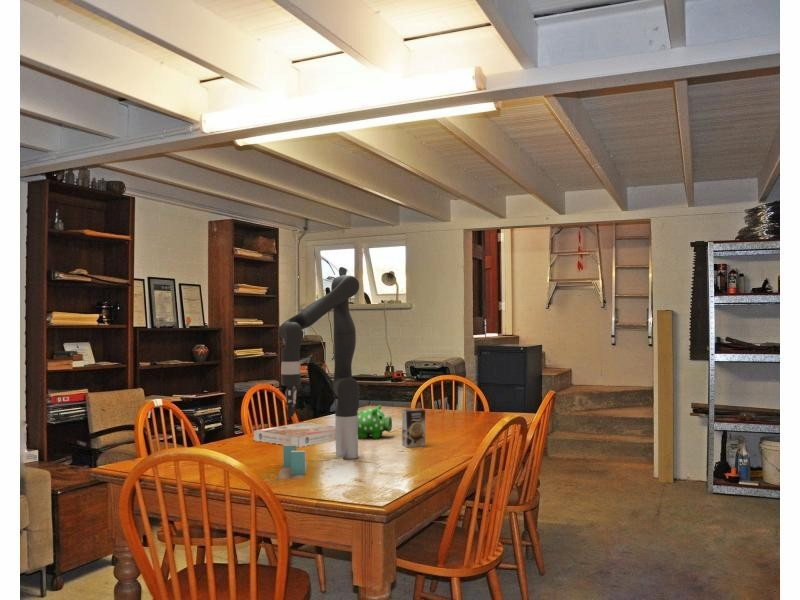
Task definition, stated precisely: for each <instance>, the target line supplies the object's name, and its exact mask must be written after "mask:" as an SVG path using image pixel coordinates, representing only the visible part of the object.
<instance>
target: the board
mask: <svg viewBox="0 0 800 600" xmlns="http://www.w3.org/2000/svg"><path fill="white" fill-rule="evenodd" d="M305 462H306V470H307V469H308V466H309V463H310V462H309V461H305ZM305 476H306V473H305V474H291V467H283V465H282V467H281V469H280V471H279V473H278V475H277V477H276V480H288V479H289V480H294V479H297V480H299V479H305Z"/></svg>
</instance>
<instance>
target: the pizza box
mask: <svg viewBox="0 0 800 600" xmlns="http://www.w3.org/2000/svg"><path fill="white" fill-rule="evenodd" d="M254 440H255V441H254ZM253 441H254V442H259V441H262V442H261V443H265V442H269V443H268V444H272V443H276V444H275V445H278V444H283V445H282V446H284V445H293V444H297V447H300V448H303V447H302V446H305V447H308V446H307V445H310V446H313V445H312V444H315V445H320V444H324V442H325V443H328V442H333V441H334V442H336V427H335V425H328V424H320V423H310V422H298V423H291V424H286V425H279V426H274V427H269V428H267V427H266V428H263V429H262V428H261V429H256V430H253ZM319 443H320V444H319Z"/></svg>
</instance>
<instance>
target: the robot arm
mask: <svg viewBox="0 0 800 600" xmlns="http://www.w3.org/2000/svg"><path fill="white" fill-rule="evenodd" d="M330 288H331V289H330V290H331V291H330V292H328V293H327V294H325V295H324V296H321V297H320V298H318V299H316V300H314V301H313V302H311V303H310V304H308V305H307V306H306V307H305V308H303V309H302V310H301V311H299V312H298V313H297V314H295V315H293V316H292V317H290V318H287V320H286V321H283V322H282V323H281V324H280V326H279V328H278V335H279V337H280V338H281V339H282V340H285V345H284V347H282V348H281V366H280V371H281V372H280V374H281V375H280V377H281V378H280V380H281V381H280V382H281V383H280V384H281V385H282V386H283V387H286V389H285V401H286V403H285V404H286V407H287V417H289V418H292V417H294V415H295V413H296V401H297V387H296V386H300V385H301V382H302V380H301V378H302V377H301V374H302V373H301V362H300V359H301V358H300V356H301V355H300V350H301V346H302V340H303V330H304V329H308V328H310V327H311V326H313V325H314V324H315V323H316V322H318V320H320V319H321V318H322V317H323V316H325V315H327V314H328V312H330V311H331V310H332V311H333V356H334V372H333V383H332V389H333V393H334V395H336V396H337V404H336V405H337V407H336V408H335V410H334V411H335V412H334V414H335V425H334V426H335V427H336V440H335V456H336V457H342V458H343V460H351V459H359V437H358V412H359V407H360V385H359V382H358V381H357V380H356V379H355V378H354V377H353V373H352V362H353V358H354V354H355V351H356V350H355V349H356V344H357V343H356V342H357V339H356V338H357V335H356V332H357V331H356V327H355V323H354V321H353V317H352V316H351V313H350V307H349V306H350V305H349V303H350V301H349V299H351V298H352V297H354V296H355V295H357V293H358V292H359V290H360V281H359V280H358V279H357V277H355V276H353V275H348V274H347V275H338V276H336V277H335V278H334V279H333V280H332V283H331V286H330Z"/></svg>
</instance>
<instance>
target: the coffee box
mask: <svg viewBox="0 0 800 600" xmlns="http://www.w3.org/2000/svg"><path fill="white" fill-rule="evenodd" d="M401 417H402V418H401V419H402V420H401V426H402V427H401V429H402V430H401V433H402V435H401V444H402V446H404V447H405V448H416V447H425V446H426V410H425V409H421V408H415V409H414V408H413V409H411V408H410V409H402V410H401Z"/></svg>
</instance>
